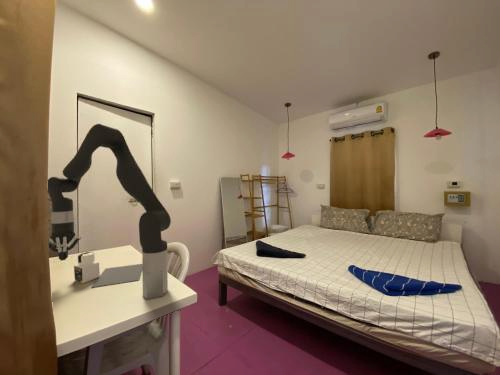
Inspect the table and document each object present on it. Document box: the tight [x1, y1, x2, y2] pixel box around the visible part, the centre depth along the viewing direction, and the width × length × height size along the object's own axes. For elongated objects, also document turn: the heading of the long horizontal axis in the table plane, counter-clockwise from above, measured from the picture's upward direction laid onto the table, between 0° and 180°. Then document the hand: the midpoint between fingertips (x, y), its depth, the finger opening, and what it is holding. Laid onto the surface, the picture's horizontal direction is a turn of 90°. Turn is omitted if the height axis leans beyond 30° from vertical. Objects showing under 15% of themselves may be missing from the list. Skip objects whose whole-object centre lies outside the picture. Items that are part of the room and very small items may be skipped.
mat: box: [90, 263, 142, 289], centre depth 102 cm, size 22×18×1 cm
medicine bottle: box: [73, 251, 101, 284], centre depth 97 cm, size 7×7×12 cm
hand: (63, 259), depth 93 cm, fingers closed
